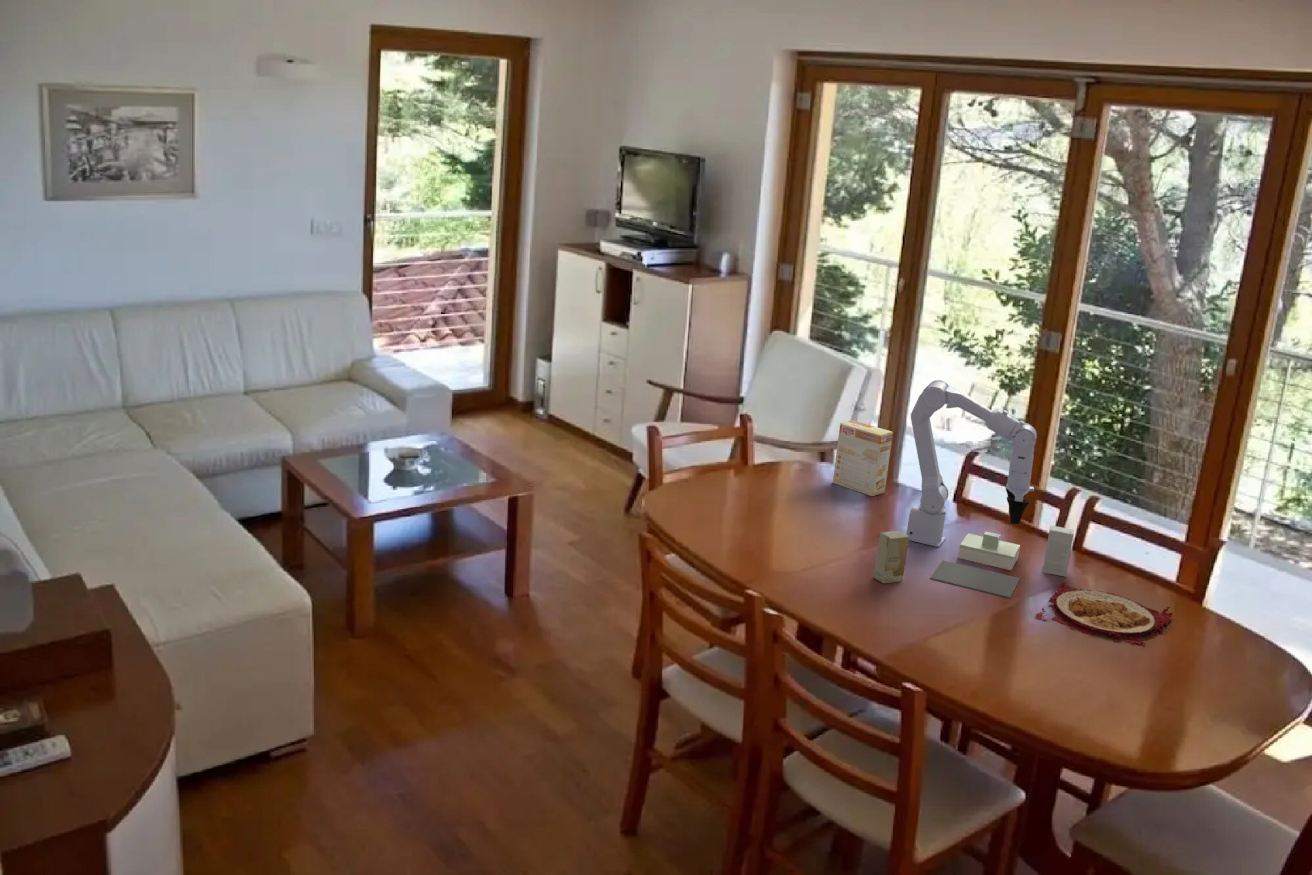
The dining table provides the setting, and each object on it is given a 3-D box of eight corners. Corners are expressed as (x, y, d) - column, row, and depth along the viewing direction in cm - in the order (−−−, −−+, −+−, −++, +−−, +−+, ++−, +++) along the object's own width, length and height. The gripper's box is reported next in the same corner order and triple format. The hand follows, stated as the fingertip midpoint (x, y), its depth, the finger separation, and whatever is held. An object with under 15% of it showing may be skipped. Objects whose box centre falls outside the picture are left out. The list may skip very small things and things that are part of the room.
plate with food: (1062, 589, 308) (1064, 577, 307) (1171, 618, 295) (1174, 605, 294) (1033, 622, 289) (1035, 608, 288) (1149, 655, 275) (1151, 640, 274)
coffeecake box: (885, 492, 369) (894, 431, 363) (872, 497, 364) (880, 435, 358) (845, 479, 378) (853, 419, 373) (831, 483, 373) (839, 422, 368)
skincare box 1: (883, 584, 300) (889, 538, 297) (872, 577, 304) (879, 532, 300) (903, 581, 303) (910, 535, 300) (892, 574, 307) (899, 529, 303)
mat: (930, 578, 306) (930, 577, 306) (942, 561, 318) (942, 560, 318) (1010, 598, 298) (1010, 597, 298) (1019, 579, 310) (1019, 578, 310)
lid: (959, 550, 321) (961, 533, 320) (966, 538, 330) (969, 522, 328) (1012, 562, 315) (1015, 546, 314) (1019, 550, 324) (1022, 534, 323)
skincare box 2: (1066, 571, 318) (1074, 529, 315) (1065, 577, 315) (1074, 534, 311) (1042, 566, 320) (1050, 524, 317) (1041, 572, 316) (1049, 529, 313)
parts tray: (957, 557, 322) (959, 547, 321) (965, 546, 330) (967, 536, 329) (1011, 570, 316) (1013, 559, 315) (1017, 558, 325) (1019, 547, 324)
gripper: (1037, 480, 311) (1031, 529, 315) (1034, 464, 325) (1028, 511, 329) (1009, 477, 313) (1003, 526, 316) (1007, 461, 326) (1001, 509, 330)
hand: (1014, 518), depth 323 cm, fingers open, 7 cm apart
